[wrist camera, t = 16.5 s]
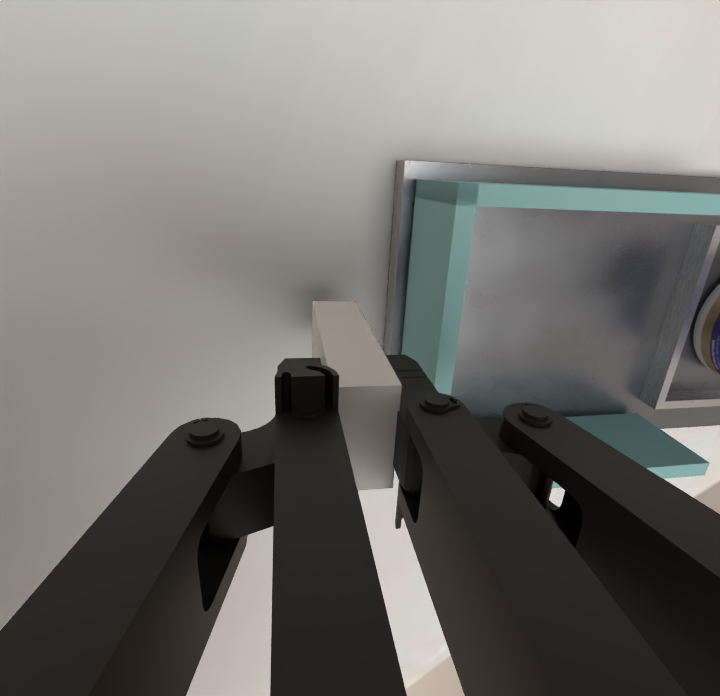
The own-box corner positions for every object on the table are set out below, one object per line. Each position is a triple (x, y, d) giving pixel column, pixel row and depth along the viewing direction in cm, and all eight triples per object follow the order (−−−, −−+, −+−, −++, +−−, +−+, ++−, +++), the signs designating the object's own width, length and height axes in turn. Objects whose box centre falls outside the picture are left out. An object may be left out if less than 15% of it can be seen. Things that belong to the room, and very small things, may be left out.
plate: (377, 431, 21) (388, 459, 19) (396, 160, 17) (413, 159, 15) (755, 410, 25) (797, 431, 23) (852, 185, 21) (914, 188, 19)
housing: (394, 437, 20) (420, 499, 16) (416, 179, 16) (458, 182, 12) (633, 423, 22) (704, 475, 18) (706, 193, 18) (816, 199, 14)
